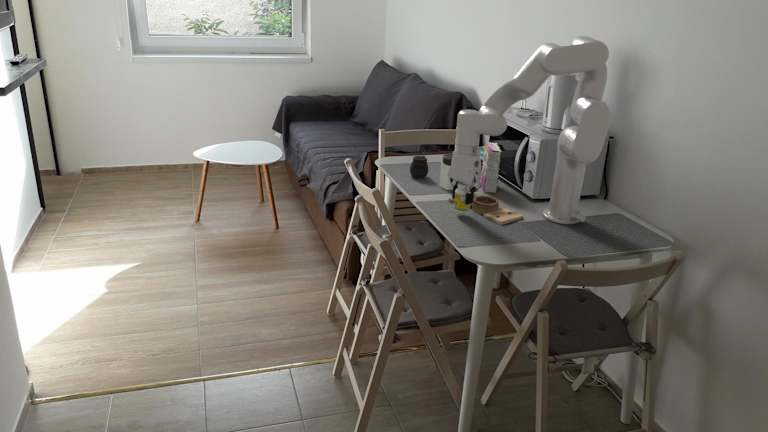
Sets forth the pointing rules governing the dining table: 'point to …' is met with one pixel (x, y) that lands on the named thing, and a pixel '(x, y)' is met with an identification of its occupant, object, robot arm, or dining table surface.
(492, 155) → the candy bar box
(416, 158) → the mate gourd
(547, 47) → the robot arm
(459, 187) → the supplement bottle
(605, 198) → the dining table surface
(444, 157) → the jar
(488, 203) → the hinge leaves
